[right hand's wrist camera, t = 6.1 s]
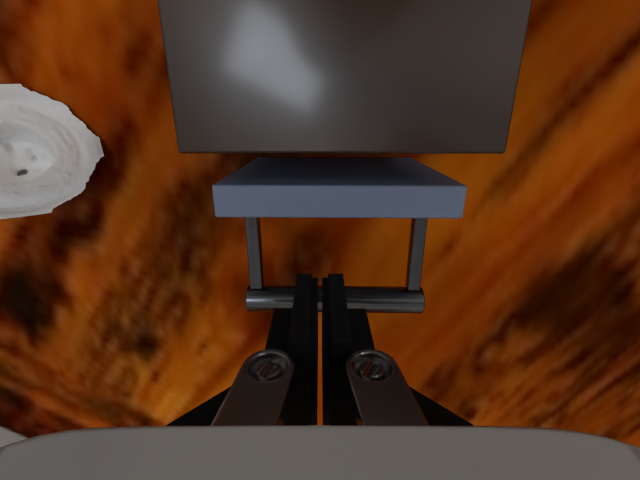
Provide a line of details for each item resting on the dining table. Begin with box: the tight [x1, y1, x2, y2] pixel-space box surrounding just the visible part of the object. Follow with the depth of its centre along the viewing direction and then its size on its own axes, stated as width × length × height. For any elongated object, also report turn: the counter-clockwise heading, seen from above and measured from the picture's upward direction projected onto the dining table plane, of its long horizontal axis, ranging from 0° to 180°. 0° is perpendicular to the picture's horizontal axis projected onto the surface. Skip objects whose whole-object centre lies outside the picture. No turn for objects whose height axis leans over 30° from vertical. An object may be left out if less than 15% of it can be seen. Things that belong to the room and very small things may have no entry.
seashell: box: [0, 84, 104, 219], centre depth 19 cm, size 8×5×8 cm
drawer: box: [212, 157, 467, 313], centre depth 15 cm, size 18×9×9 cm, turn 0°
